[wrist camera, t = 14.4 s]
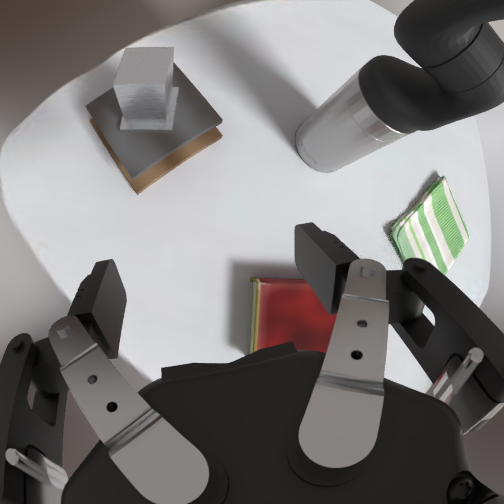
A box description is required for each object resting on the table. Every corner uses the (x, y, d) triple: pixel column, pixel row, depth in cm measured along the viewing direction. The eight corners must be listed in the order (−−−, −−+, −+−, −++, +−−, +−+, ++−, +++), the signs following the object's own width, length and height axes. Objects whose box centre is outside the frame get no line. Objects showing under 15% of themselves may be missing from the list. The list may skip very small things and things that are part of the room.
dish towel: (382, 232, 44) (393, 230, 41) (436, 173, 49) (444, 171, 46) (418, 307, 47) (428, 308, 44) (464, 239, 52) (472, 239, 49)
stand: (170, 75, 35) (170, 54, 29) (221, 138, 37) (228, 120, 31) (91, 123, 32) (81, 106, 26) (137, 194, 34) (130, 184, 28)
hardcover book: (250, 276, 38) (258, 279, 34) (371, 279, 43) (387, 281, 39) (245, 359, 38) (253, 370, 33) (364, 348, 43) (379, 355, 39)
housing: (178, 88, 30) (182, 41, 21) (172, 132, 30) (171, 90, 20) (131, 88, 28) (121, 42, 19) (120, 132, 28) (104, 91, 19)
